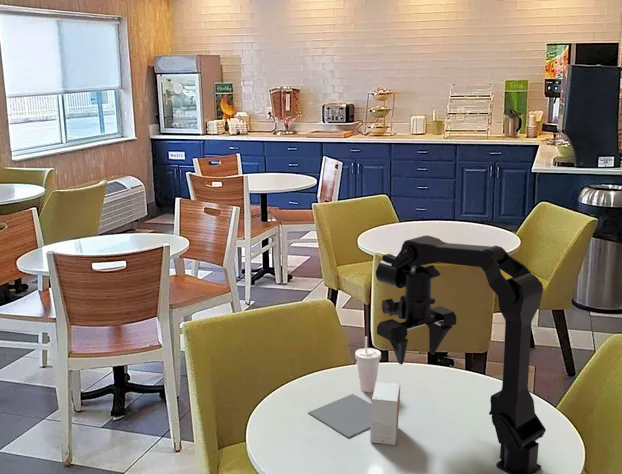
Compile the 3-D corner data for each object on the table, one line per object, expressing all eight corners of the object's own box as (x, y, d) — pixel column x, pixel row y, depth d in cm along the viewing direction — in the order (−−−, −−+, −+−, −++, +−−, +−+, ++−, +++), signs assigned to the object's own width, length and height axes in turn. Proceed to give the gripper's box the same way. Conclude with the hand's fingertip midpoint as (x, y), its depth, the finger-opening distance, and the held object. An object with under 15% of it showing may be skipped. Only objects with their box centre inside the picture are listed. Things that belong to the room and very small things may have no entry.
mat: (393, 417, 159) (393, 416, 159) (348, 438, 150) (348, 437, 150) (352, 394, 169) (352, 393, 169) (308, 413, 161) (308, 412, 161)
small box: (395, 446, 147) (398, 402, 144) (369, 442, 148) (371, 399, 145) (398, 425, 155) (401, 383, 152) (373, 423, 156) (375, 380, 153)
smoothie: (351, 385, 174) (351, 333, 171) (374, 381, 176) (375, 330, 173) (360, 396, 168) (360, 343, 165) (384, 392, 170) (385, 339, 167)
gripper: (425, 276, 163) (424, 338, 167) (361, 291, 153) (361, 356, 157) (459, 289, 154) (456, 353, 158) (393, 305, 144) (392, 374, 148)
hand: (416, 358), depth 156 cm, fingers open, 9 cm apart
